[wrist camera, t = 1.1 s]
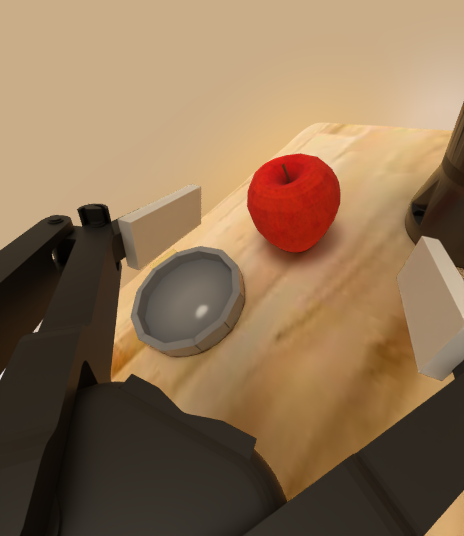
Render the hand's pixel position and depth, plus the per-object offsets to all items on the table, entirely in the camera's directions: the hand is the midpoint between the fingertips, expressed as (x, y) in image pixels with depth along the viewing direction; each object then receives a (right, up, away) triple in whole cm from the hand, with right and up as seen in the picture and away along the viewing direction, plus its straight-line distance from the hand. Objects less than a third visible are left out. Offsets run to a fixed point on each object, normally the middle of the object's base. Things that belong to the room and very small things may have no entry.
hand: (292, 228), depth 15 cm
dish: (-10, -8, +22) cm, 26 cm away
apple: (+7, +2, +23) cm, 24 cm away
